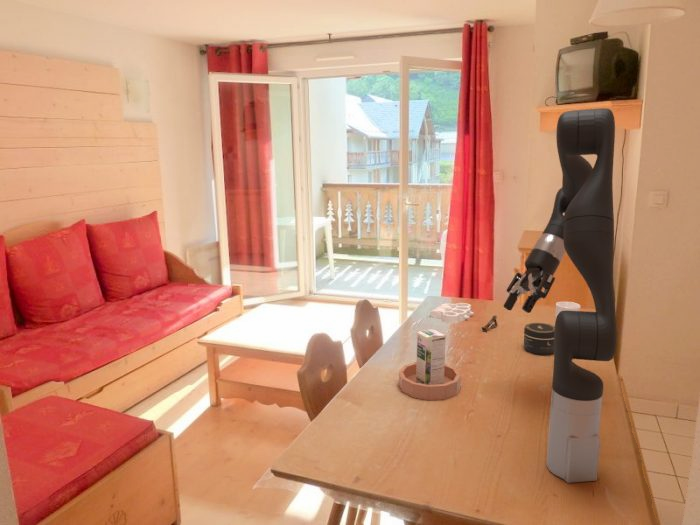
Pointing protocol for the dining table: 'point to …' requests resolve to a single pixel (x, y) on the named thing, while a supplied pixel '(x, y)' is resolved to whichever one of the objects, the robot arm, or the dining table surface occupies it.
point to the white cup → (566, 307)
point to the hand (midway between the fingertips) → (515, 309)
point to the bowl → (429, 391)
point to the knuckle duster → (452, 312)
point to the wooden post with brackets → (490, 324)
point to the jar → (539, 338)
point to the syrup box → (430, 357)
